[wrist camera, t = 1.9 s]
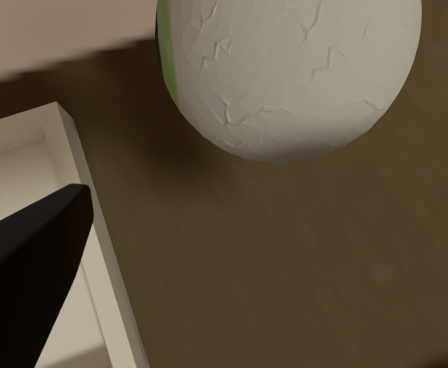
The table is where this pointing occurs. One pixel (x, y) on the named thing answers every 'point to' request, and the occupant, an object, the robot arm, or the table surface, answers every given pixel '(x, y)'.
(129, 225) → the table surface
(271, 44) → the lollipop
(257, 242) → the table surface
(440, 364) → the table surface
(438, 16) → the table surface
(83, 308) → the tray
